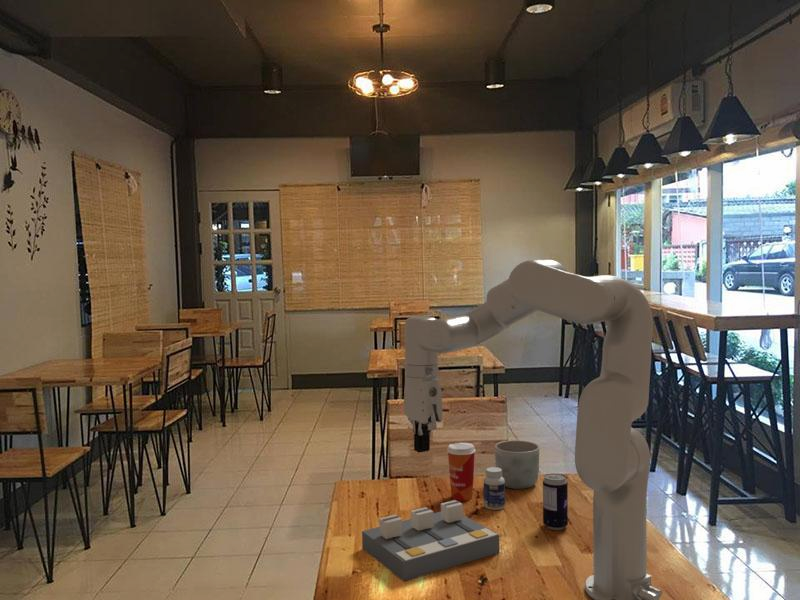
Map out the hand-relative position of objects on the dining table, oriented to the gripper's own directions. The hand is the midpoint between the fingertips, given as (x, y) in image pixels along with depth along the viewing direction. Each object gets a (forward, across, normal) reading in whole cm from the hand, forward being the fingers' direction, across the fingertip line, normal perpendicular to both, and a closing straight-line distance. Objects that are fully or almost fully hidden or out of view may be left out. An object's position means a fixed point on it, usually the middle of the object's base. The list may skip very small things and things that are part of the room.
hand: (421, 450), depth 153 cm
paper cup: (+20, +16, -22) cm, 34 cm away
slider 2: (+16, -4, +2) cm, 17 cm away
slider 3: (+16, -4, -6) cm, 18 cm away
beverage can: (+20, -12, -30) cm, 38 cm away
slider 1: (+16, -4, +10) cm, 20 cm away
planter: (+20, +16, -41) cm, 49 cm away
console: (+20, -7, +2) cm, 22 cm away
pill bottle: (+20, +6, -25) cm, 33 cm away
